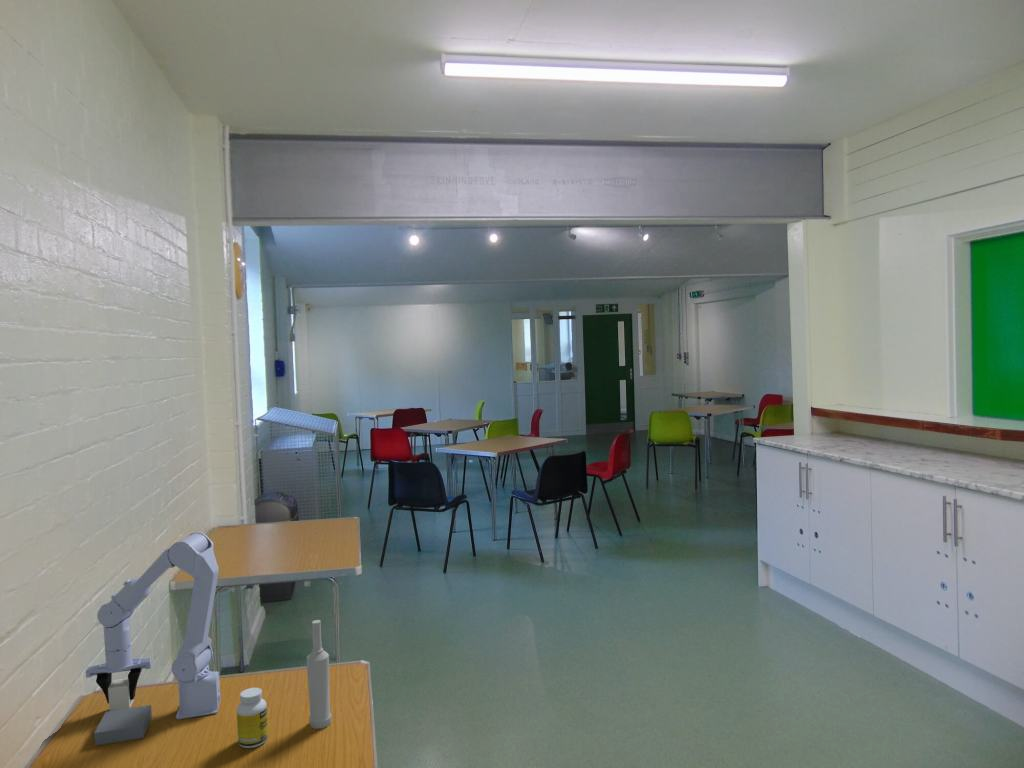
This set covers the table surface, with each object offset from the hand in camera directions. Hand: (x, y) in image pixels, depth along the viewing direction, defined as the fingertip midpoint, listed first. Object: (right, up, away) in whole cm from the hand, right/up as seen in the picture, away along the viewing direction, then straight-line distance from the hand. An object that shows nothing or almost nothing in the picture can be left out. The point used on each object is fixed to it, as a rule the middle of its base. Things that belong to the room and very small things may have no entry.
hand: (121, 699), depth 179 cm
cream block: (0, -2, 0) cm, 2 cm away
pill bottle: (+39, -3, -16) cm, 42 cm away
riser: (+6, -3, -10) cm, 12 cm away
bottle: (+53, -2, -9) cm, 53 cm away
